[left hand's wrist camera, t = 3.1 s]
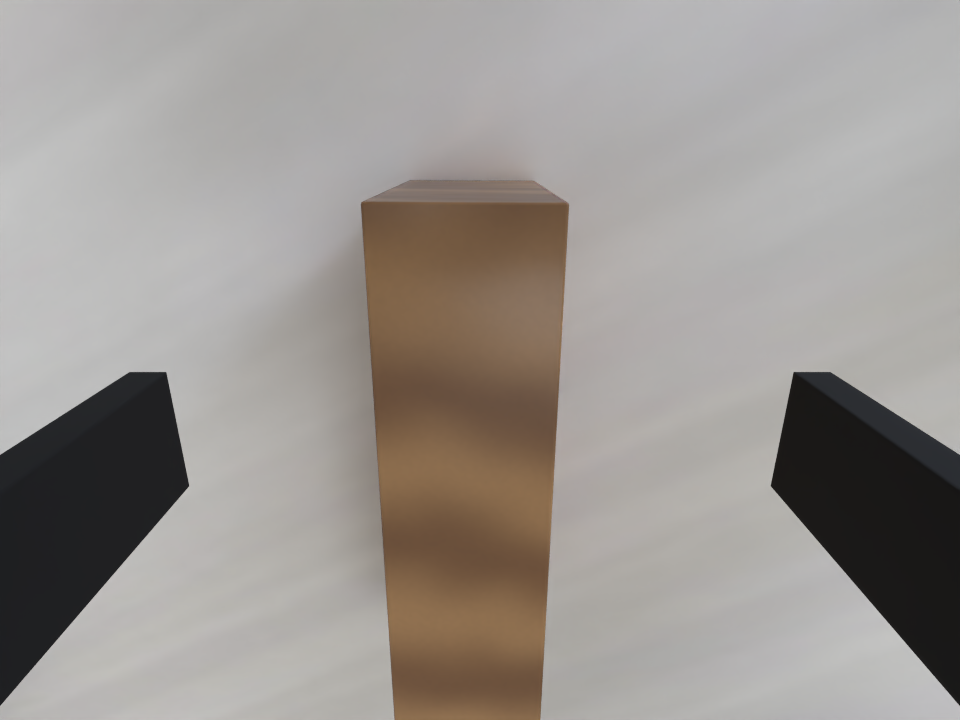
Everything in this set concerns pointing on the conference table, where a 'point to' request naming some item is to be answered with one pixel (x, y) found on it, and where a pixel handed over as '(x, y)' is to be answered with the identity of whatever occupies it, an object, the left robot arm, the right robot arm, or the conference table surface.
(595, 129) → the conference table surface
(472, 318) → the box
